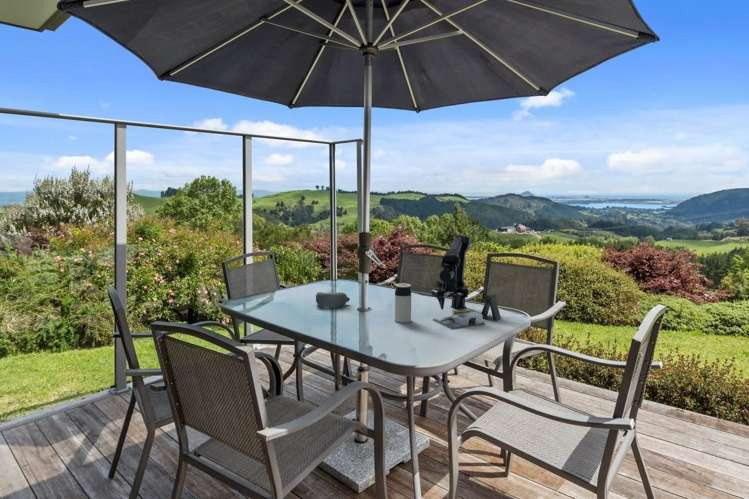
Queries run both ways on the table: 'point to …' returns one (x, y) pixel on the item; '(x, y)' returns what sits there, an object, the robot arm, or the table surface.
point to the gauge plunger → (458, 313)
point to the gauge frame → (461, 320)
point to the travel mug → (403, 303)
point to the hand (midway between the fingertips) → (449, 308)
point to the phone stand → (494, 308)
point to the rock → (331, 299)
